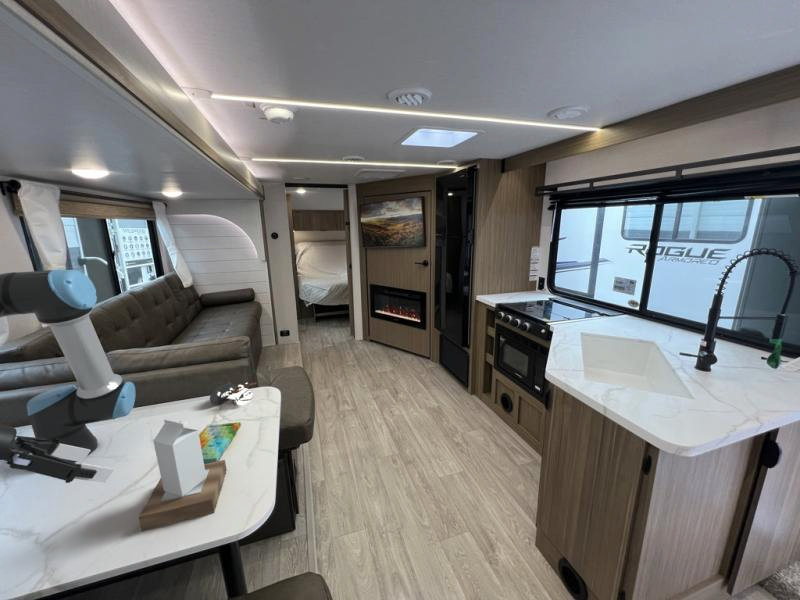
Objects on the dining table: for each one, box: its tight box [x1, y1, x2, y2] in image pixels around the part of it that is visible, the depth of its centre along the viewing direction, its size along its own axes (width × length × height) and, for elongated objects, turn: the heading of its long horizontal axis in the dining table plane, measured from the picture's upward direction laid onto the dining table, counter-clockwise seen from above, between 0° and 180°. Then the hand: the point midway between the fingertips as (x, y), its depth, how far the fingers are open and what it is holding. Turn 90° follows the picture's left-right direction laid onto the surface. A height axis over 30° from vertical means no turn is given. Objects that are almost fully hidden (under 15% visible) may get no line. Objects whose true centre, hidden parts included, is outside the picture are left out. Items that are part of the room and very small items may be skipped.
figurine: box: [209, 381, 258, 406], centre depth 140 cm, size 14×10×18 cm
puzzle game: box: [199, 421, 242, 464], centre depth 109 cm, size 12×5×20 cm
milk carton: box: [153, 419, 206, 497], centre depth 86 cm, size 7×7×19 cm
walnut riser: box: [137, 459, 228, 532], centre depth 89 cm, size 16×16×4 cm
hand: (97, 465), depth 75 cm, fingers open, 13 cm apart
